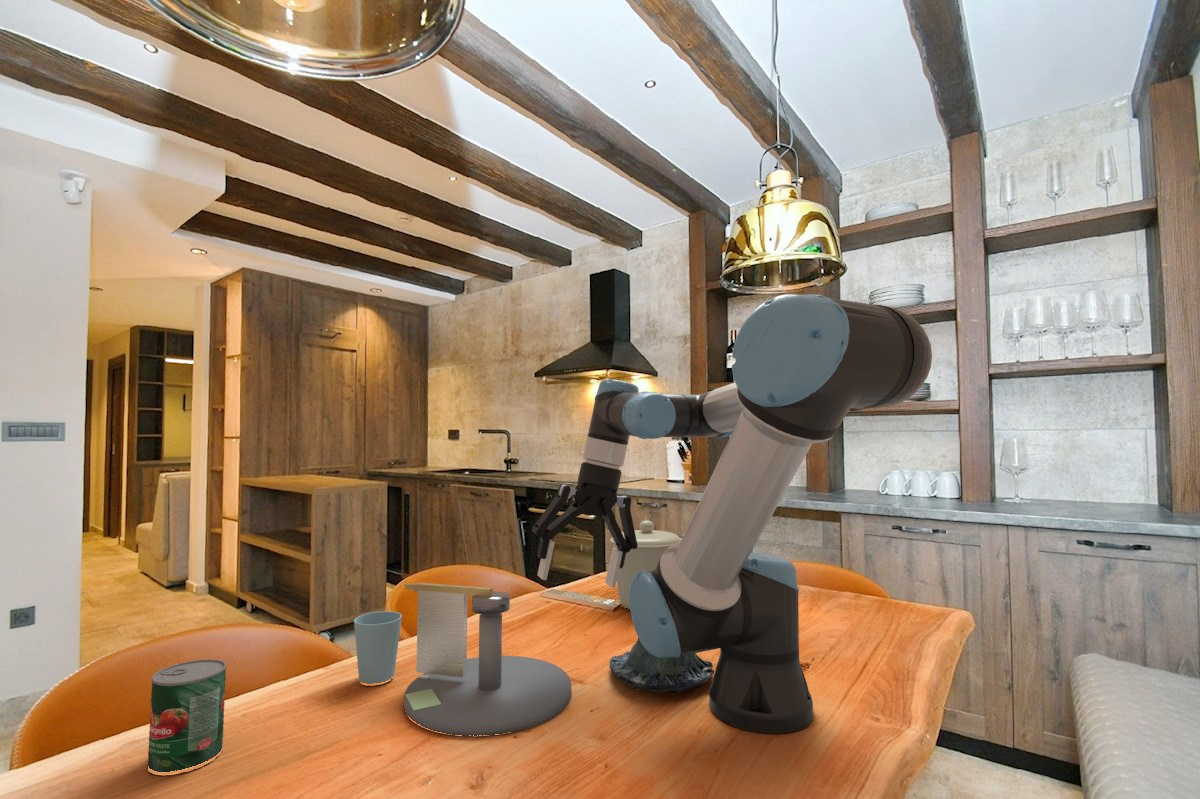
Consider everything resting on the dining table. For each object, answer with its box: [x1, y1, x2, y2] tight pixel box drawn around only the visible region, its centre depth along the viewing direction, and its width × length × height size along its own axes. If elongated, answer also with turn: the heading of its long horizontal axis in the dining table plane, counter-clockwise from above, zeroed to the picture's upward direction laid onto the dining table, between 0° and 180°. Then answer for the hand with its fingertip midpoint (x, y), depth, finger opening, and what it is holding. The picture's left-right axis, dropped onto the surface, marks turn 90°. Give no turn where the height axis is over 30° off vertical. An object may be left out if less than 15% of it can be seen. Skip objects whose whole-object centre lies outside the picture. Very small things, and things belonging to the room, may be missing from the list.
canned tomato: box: [147, 658, 227, 772], centre depth 74 cm, size 8×8×11 cm
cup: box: [353, 610, 403, 684], centre depth 98 cm, size 8×8×10 cm
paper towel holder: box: [403, 613, 572, 736], centre depth 92 cm, size 26×26×12 cm
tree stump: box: [609, 637, 715, 694], centre depth 99 cm, size 18×20×18 cm
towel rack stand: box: [404, 582, 511, 678], centre depth 94 cm, size 19×6×14 cm, turn 75°
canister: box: [609, 520, 683, 610], centre depth 141 cm, size 18×18×21 cm
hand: (576, 581), depth 103 cm, fingers open, 13 cm apart
